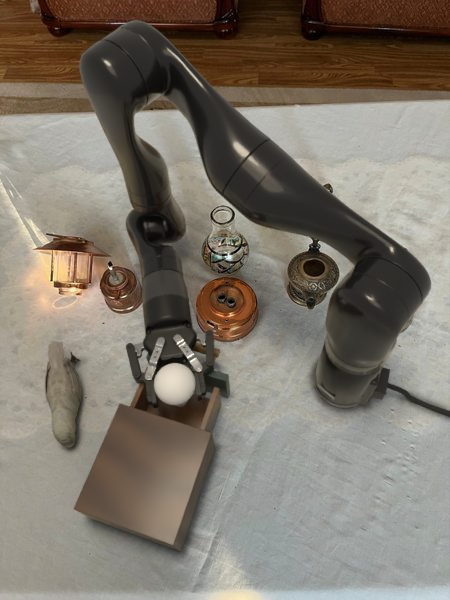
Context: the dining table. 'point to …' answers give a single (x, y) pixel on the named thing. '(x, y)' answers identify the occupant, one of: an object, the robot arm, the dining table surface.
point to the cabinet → (148, 476)
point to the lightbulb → (175, 384)
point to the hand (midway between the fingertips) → (178, 402)
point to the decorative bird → (62, 393)
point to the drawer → (194, 411)
